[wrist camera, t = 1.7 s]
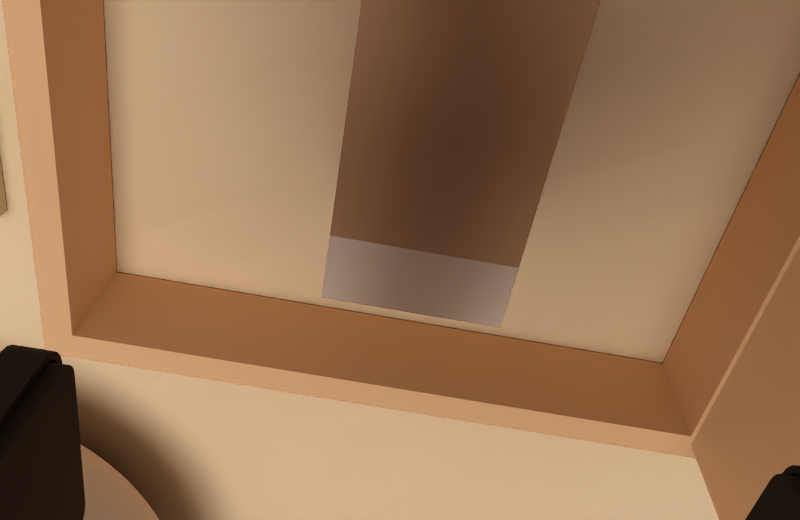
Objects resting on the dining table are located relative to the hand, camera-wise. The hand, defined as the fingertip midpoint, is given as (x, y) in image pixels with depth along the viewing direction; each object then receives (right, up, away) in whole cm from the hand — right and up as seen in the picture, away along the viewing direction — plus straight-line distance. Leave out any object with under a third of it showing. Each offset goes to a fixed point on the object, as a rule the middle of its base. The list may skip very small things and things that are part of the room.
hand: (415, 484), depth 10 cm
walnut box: (+1, +9, +14) cm, 16 cm away
